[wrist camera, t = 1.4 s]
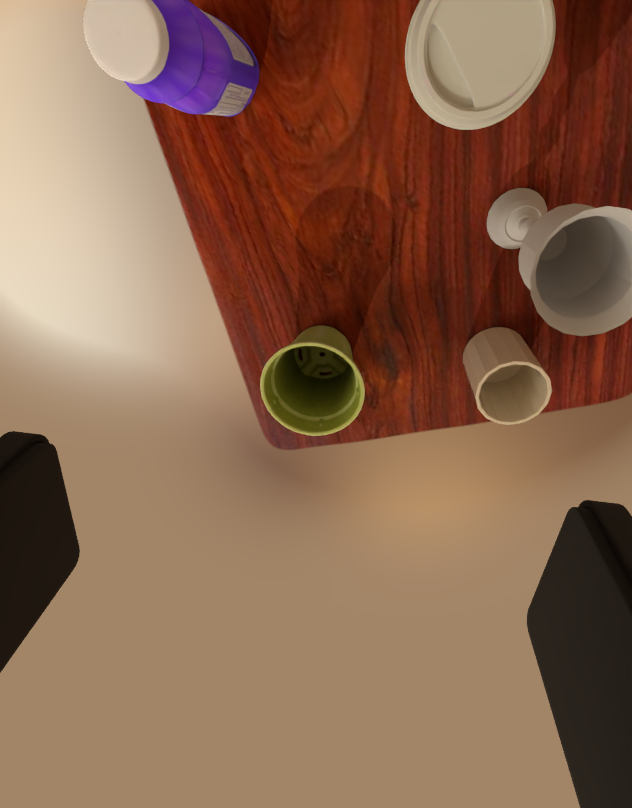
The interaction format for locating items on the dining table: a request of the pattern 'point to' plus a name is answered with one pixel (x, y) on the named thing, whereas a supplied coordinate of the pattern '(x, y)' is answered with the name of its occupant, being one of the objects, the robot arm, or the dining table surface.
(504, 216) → the chalice
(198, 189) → the dining table surface
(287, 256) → the dining table surface
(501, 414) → the paper cup
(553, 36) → the coffee cup
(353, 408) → the plant pot
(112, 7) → the bottle
